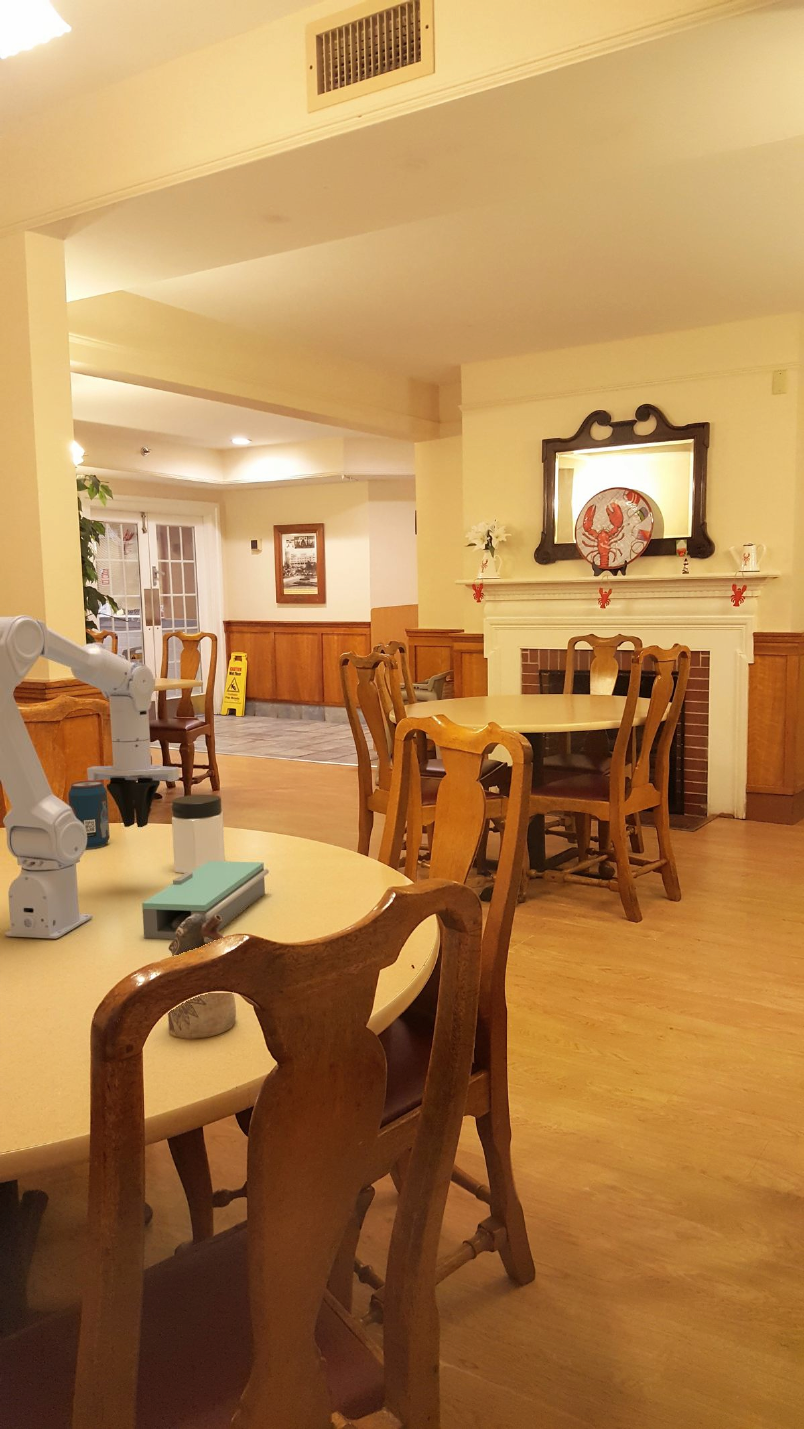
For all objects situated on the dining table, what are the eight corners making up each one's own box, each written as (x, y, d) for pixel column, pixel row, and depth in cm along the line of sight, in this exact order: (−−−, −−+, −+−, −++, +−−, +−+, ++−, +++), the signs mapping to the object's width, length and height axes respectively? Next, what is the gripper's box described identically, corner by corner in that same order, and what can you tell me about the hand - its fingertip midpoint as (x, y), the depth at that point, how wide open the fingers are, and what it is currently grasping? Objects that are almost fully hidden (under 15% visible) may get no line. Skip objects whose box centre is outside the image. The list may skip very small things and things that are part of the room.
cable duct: (212, 941, 132) (210, 912, 131) (144, 938, 134) (142, 909, 133) (269, 893, 153) (268, 868, 153) (210, 891, 155) (209, 866, 155)
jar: (180, 862, 174) (177, 794, 172) (227, 860, 174) (224, 793, 173) (170, 876, 165) (166, 804, 163) (220, 874, 165) (216, 803, 164)
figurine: (189, 1008, 110) (183, 902, 108) (247, 1014, 108) (242, 906, 106) (154, 1035, 103) (148, 923, 102) (216, 1042, 101) (211, 927, 100)
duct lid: (204, 911, 131) (204, 900, 131) (142, 908, 133) (141, 898, 133) (263, 867, 153) (263, 858, 153) (209, 866, 155) (208, 857, 155)
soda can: (71, 843, 190) (67, 781, 189) (109, 839, 192) (105, 778, 191) (71, 851, 184) (67, 787, 182) (110, 847, 186) (106, 784, 185)
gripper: (185, 736, 156) (189, 821, 158) (101, 736, 160) (106, 819, 161) (165, 742, 150) (170, 831, 151) (78, 742, 153) (83, 829, 154)
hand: (135, 825), depth 156 cm, fingers closed
